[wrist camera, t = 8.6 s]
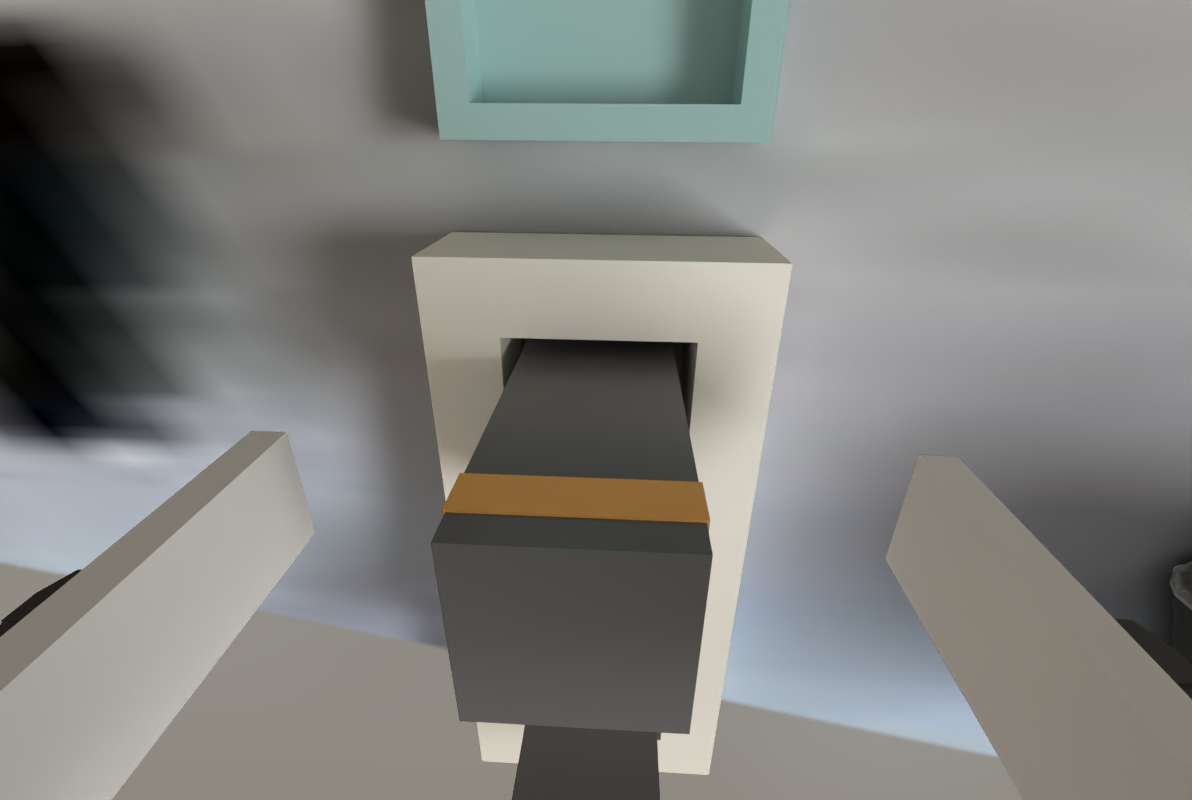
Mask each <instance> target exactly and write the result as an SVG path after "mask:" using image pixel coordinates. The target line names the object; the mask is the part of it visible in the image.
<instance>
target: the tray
mask: <svg viewBox="0 0 1192 800" xmlns="http://www.w3.org/2000/svg"><path fill="white" fill-rule="evenodd" d="M789 3H790V0H425V7H426V17H427V26H428V35H429V44H430V54H431V63H432V72H433V81H434V91H435V100H436V109H437V118H438V128H439V137H440V140H515V141H630V142H746V143H771V138H772V130H773V123H774V116H775V108H776V101H777V93H778V86H779V78H780V71H781V63H782V56H783V48H784V41H785V33H786V26H787V18H788V11H789Z"/></svg>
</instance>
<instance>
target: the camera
mask: <svg viewBox="0 0 1192 800" xmlns="http://www.w3.org/2000/svg"><path fill="white" fill-rule="evenodd" d="M1172 573H1173V574H1172V576H1171V579H1170V586H1171V588H1172V590H1173V608H1172V647H1173V648H1174V649H1176V650H1177V651H1178V652H1179V653H1180V654H1181V655H1182V656H1183V657H1184V658H1185V659H1186V660H1187V661H1188V662H1189V663H1190V664H1191V665H1192V561H1191V562H1188V563H1186V564H1182V565H1177V566H1175V567H1174V568H1173V571H1172Z"/></svg>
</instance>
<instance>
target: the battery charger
mask: <svg viewBox="0 0 1192 800" xmlns="http://www.w3.org/2000/svg"><path fill="white" fill-rule="evenodd" d="M411 259H412V266H413V273H414V280H415V287H416V294H417V301H418V309H419V316H420V323H421V330H422V337H423V344H424V351H425V358H426V365H427V372H428V380H429V387H430V394H431V401H432V408H433V415H434V422H435V429H436V436H437V443H438V450H439V458H440V465H441V472H442V479H443V486H444V493H445V500H447V498H448V496H449V494H450V492H451V490H452V488H453V486H454V484H455V482H456V479H457V477H458V475H459V473H464V472H465V470H466V468H467V466H468V464H469V462H470V460H471V457H472V455H473V453H474V451H475V449H476V447H477V445H478V443H479V441H480V439H481V436H482V434H483V432H484V430H485V428H486V426H487V424H488V422H489V420H490V418H491V415H492V413H493V411H494V409H495V407H496V405H497V403H498V401H499V399H500V397H501V394H502V392H503V390H504V388H505V386H506V384H507V382H508V380H509V378H510V376H511V373H512V371H513V369H514V367H515V365H516V363H517V361H518V359H519V357H520V355H521V352H522V350H523V348H524V346H525V344H526V342H527V340H528V338H534V339H573V340H613V341H652V342H672V345H673V351H674V356H675V361H676V366H677V371H678V377H679V382H680V387H681V392H682V397H683V403H684V408H685V413H686V418H687V423H688V428H689V434H690V439H691V444H692V449H693V454H694V460H695V465H696V470H697V475H698V480H699V482H703V487H704V492H705V496H706V501H707V506H708V511H709V516H710V527H709V537H710V543H711V548H712V553H713V558H712V566H711V573H710V581H709V589H708V596H707V604H706V612H705V619H704V627H703V634H702V642H701V650H700V657H699V665H698V673H697V680H696V688H695V696H694V703H693V711H692V719H691V726H690V734H676V733H659V732H641V731H624V730H607V729H589V728H572V727H555V726H537V725H520V724H503V723H486V722H477V727H478V734H479V741H480V748H481V755H482V761H490V762H506V763H518V767H517V773H516V779H515V785H514V790H513V796H512V800H660V791H659V772H671V773H687V774H703V775H708V774H709V770H710V764H711V757H712V751H713V745H714V739H715V733H716V726H717V721H718V715H719V709H720V703H721V697H722V690H723V684H724V678H725V672H726V666H727V660H728V654H729V648H730V642H731V636H732V629H733V623H734V617H735V611H736V605H737V599H738V593H739V587H740V581H741V575H742V569H743V562H744V556H745V550H746V544H747V538H748V532H749V526H750V520H751V514H752V508H753V501H754V495H755V489H756V483H757V477H758V471H759V465H760V459H761V453H762V447H763V441H764V434H765V428H766V422H767V416H768V410H769V404H770V398H771V392H772V386H773V380H774V373H775V367H776V361H777V355H778V349H779V343H780V337H781V331H782V325H783V319H784V313H785V306H786V300H787V294H788V288H789V282H790V276H791V270H792V263H791V262H790V261H789V260H788V259H786V258H785V257H784V256H783V255H782V254H781V253H779V252H778V251H777V250H776V249H775V248H774V247H772V246H771V245H770V244H769V243H768V242H767V241H765V240H764V239H763V238H762V237H726V236H665V235H604V234H544V233H483V232H451V233H449V234H448V235H446V236H445V237H443V238H441V239H440V240H438V241H436V242H435V243H433V244H431V245H430V246H428V247H426V248H425V249H423V250H421V251H420V252H418V253H416V254H415V255H413V256H411Z"/></svg>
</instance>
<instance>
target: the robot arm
mask: <svg viewBox="0 0 1192 800" xmlns="http://www.w3.org/2000/svg"><path fill="white" fill-rule="evenodd" d="M314 534H315V530H314V527H313V523H312V520H311V516H310V513H309V509H308V506H307V502H306V499H305V495H304V492H303V488H302V485H301V481H300V478H299V474H298V471H297V467H296V464H295V460H294V457H293V454H292V450H291V447H290V443H289V440H288V436H287V433H286V432H267V431H251V432H250V433H249V434H247V435H246V436H245V437H244V438H242V439H241V440H240V441H239V442H238V443H236V444H235V445H234V446H233V447H231V448H230V449H229V450H228V451H227V452H225V453H224V454H223V455H222V456H220V457H219V458H218V459H217V460H216V461H214V462H213V463H212V464H211V465H209V466H208V467H207V468H206V469H205V470H203V471H202V472H201V473H200V474H199V475H197V476H196V477H195V478H194V479H192V480H191V481H190V482H189V483H188V484H186V485H185V486H184V487H183V488H181V489H180V490H179V491H178V492H177V493H175V494H174V495H173V496H172V497H170V498H169V499H168V500H167V501H166V502H164V503H163V504H162V505H161V506H159V507H158V508H157V509H156V510H155V511H153V512H152V513H151V514H150V515H149V516H147V517H146V518H145V519H144V520H142V521H141V522H140V523H139V524H138V525H136V526H135V527H134V528H133V529H131V530H130V531H129V532H128V533H127V534H125V535H124V536H123V537H122V538H120V539H119V540H118V541H117V542H116V543H114V544H113V545H112V546H111V547H110V548H108V549H107V550H106V551H105V552H103V553H102V554H101V555H100V556H99V557H97V558H96V559H95V560H94V561H92V562H91V563H90V564H89V565H88V566H86V567H85V568H84V569H83V570H76V571H75V572H73V573H71V574H69V575H67V576H66V577H64V578H62V579H60V580H58V581H57V582H55V583H53V584H51V585H50V586H48V587H46V588H44V589H42V590H40V591H39V592H37V593H36V594H34V595H33V596H32V597H30V598H29V599H28V600H27V601H25V602H24V603H23V604H22V605H20V606H19V607H18V608H17V609H15V610H14V611H13V612H12V613H10V614H9V615H8V616H7V617H5V618H4V619H3V620H2V623H1V625H0V800H112V799H113V797H114V796H115V795H116V793H117V792H118V791H119V789H120V788H121V787H122V785H123V784H124V783H125V781H126V780H127V779H128V778H129V776H130V775H131V774H132V772H133V771H134V770H135V768H136V767H137V766H138V764H139V763H140V762H141V761H142V759H143V758H144V757H145V755H146V754H147V753H148V751H149V750H150V749H151V748H152V746H153V745H154V744H155V742H156V741H157V740H158V738H159V737H160V736H161V734H162V733H163V732H164V731H165V729H166V728H167V727H168V725H169V724H170V723H171V721H172V720H173V719H174V717H175V716H176V715H177V713H178V712H179V711H180V709H181V708H182V707H183V706H184V704H185V703H186V702H187V700H188V699H189V698H190V697H191V695H192V694H193V692H194V691H195V690H196V689H197V687H198V686H199V685H200V683H201V682H202V681H203V680H204V678H205V677H206V676H207V674H208V673H209V672H210V670H211V669H212V668H213V666H214V665H215V664H216V662H217V661H218V660H219V659H220V657H221V656H222V655H223V653H224V652H225V651H226V649H227V648H228V647H229V645H230V644H231V643H232V641H233V640H234V639H235V638H236V636H237V634H239V632H240V631H241V630H242V628H243V627H244V626H245V624H246V623H247V622H248V621H249V619H250V618H251V617H252V615H253V614H254V613H255V612H256V610H257V609H258V608H259V606H260V605H261V604H262V602H263V601H264V600H265V598H266V597H267V596H268V595H269V593H270V592H271V591H272V589H273V588H274V587H275V585H276V584H277V583H278V581H279V580H280V579H281V578H282V576H283V575H284V574H285V572H286V571H287V570H288V568H289V567H290V566H291V564H292V563H293V562H294V561H295V559H296V558H297V557H298V555H299V554H300V553H301V551H302V550H303V549H304V547H305V546H306V545H307V544H308V542H309V541H310V540H311V538H312V537H313V536H314ZM885 560H886V561H887V563H888V565H889V566H890V568H891V570H892V572H893V573H894V575H895V577H896V579H897V580H898V582H899V584H900V586H901V587H902V589H903V591H904V593H905V594H906V596H907V598H908V600H909V601H910V603H911V605H912V607H913V608H914V610H915V612H916V614H917V615H918V617H919V619H920V621H921V622H922V624H923V626H924V627H925V629H926V631H927V633H928V634H929V636H930V638H931V640H932V641H933V643H934V645H935V647H936V648H937V650H938V652H939V654H940V655H941V657H942V659H943V661H944V662H945V664H946V666H947V668H948V669H949V671H950V673H951V675H952V676H953V678H954V680H955V682H956V683H957V685H958V687H959V688H960V690H961V692H962V694H963V695H964V697H965V699H966V701H967V702H968V704H969V706H970V708H971V709H972V711H973V713H974V715H975V716H976V718H977V720H978V722H979V723H980V725H981V727H982V729H983V730H984V732H985V734H986V736H987V737H988V739H989V741H990V743H991V744H992V746H993V748H994V749H995V751H996V753H997V755H998V756H999V758H1000V760H1001V762H1002V763H1003V765H1004V767H1005V769H1006V770H1007V772H1008V774H1009V775H1010V777H1011V779H1012V781H1013V783H1014V784H1015V786H1016V788H1017V790H1018V791H1019V793H1020V795H1021V797H1022V798H1023V800H1192V665H1191V664H1190V663H1189V662H1188V661H1187V660H1186V659H1185V658H1184V657H1183V656H1182V655H1181V654H1180V653H1179V652H1178V651H1177V650H1176V649H1174V648H1173V647H1171V646H1170V645H1168V644H1167V643H1165V642H1164V641H1163V640H1161V639H1160V638H1158V637H1157V636H1155V635H1154V634H1152V633H1151V632H1149V631H1148V630H1146V629H1145V628H1143V627H1142V626H1140V625H1139V624H1137V623H1136V622H1134V621H1133V620H1123V619H1114V618H1113V617H1112V616H1111V615H1110V614H1109V613H1108V612H1107V611H1106V610H1105V609H1104V608H1103V607H1102V606H1101V605H1100V604H1099V603H1098V602H1097V601H1096V600H1095V598H1094V597H1093V596H1092V595H1091V594H1090V593H1089V592H1088V591H1087V590H1086V589H1085V588H1084V587H1083V586H1082V585H1081V584H1080V583H1079V582H1078V581H1077V580H1076V579H1075V578H1074V577H1073V576H1072V575H1071V574H1070V572H1069V571H1068V570H1067V569H1066V568H1065V567H1064V566H1063V565H1062V564H1061V563H1060V562H1059V561H1058V560H1057V559H1056V558H1055V557H1054V556H1053V555H1052V554H1051V553H1050V552H1049V551H1048V550H1047V549H1046V548H1045V547H1044V545H1043V544H1042V543H1041V542H1040V541H1039V540H1038V539H1037V538H1036V537H1035V536H1034V535H1033V534H1032V533H1031V532H1030V531H1029V530H1028V529H1027V528H1026V527H1025V526H1024V525H1023V524H1022V523H1021V522H1020V521H1019V520H1018V518H1017V517H1016V516H1015V515H1014V514H1013V513H1012V512H1011V511H1010V510H1009V509H1008V508H1007V507H1006V506H1005V505H1004V504H1003V503H1002V502H1001V501H1000V500H999V499H998V498H997V497H996V496H995V495H994V494H993V493H992V491H991V490H990V489H989V488H988V487H987V486H986V485H985V484H984V483H983V482H982V481H981V480H980V479H979V478H978V477H977V476H976V475H975V474H974V473H973V472H972V471H971V470H970V469H969V468H968V467H967V466H966V464H965V463H964V462H963V461H962V460H961V459H960V458H959V457H958V456H935V455H918V458H917V461H916V464H915V467H914V471H913V474H912V477H911V480H910V483H909V486H908V489H907V492H906V496H905V499H904V502H903V505H902V508H901V511H900V514H899V517H898V521H897V524H896V527H895V530H894V533H893V536H892V539H891V542H890V546H889V549H888V552H887V555H886V558H885Z"/></svg>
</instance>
